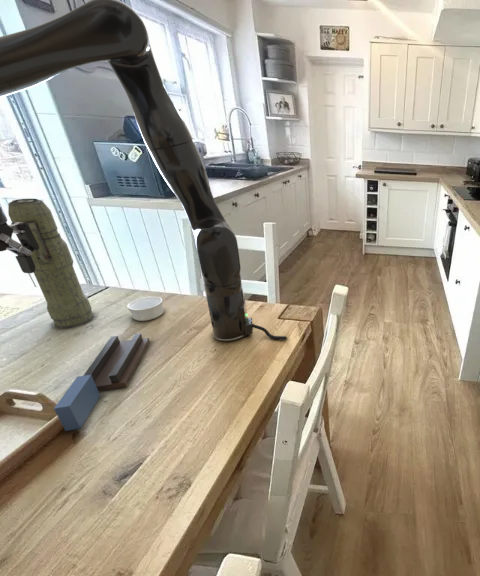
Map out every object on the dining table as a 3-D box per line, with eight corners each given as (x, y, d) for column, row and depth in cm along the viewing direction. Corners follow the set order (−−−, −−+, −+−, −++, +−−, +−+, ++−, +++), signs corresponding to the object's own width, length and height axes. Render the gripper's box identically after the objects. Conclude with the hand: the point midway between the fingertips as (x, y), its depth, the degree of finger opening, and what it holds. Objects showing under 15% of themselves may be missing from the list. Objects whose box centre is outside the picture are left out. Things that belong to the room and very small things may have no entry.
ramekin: (123, 319, 98) (119, 307, 96) (148, 305, 105) (145, 294, 104) (148, 324, 96) (144, 311, 94) (172, 310, 104) (169, 298, 102)
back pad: (100, 395, 71) (91, 374, 68) (80, 428, 63) (69, 406, 61) (87, 397, 70) (77, 376, 67) (65, 431, 62) (53, 408, 60)
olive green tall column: (91, 307, 102) (48, 194, 87) (97, 323, 95) (51, 203, 80) (52, 316, 97) (-1, 197, 81) (56, 334, 89) (-2, 206, 74)
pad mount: (150, 342, 89) (146, 331, 87) (126, 387, 73) (121, 375, 72) (110, 346, 86) (106, 335, 84) (77, 394, 71) (71, 382, 69)
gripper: (-68, 209, 52) (-19, 298, 59) (28, 194, 64) (59, 269, 71) (-111, 205, 52) (-57, 294, 59) (-7, 191, 65) (27, 266, 72)
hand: (6, 280), depth 65 cm, fingers open, 8 cm apart
